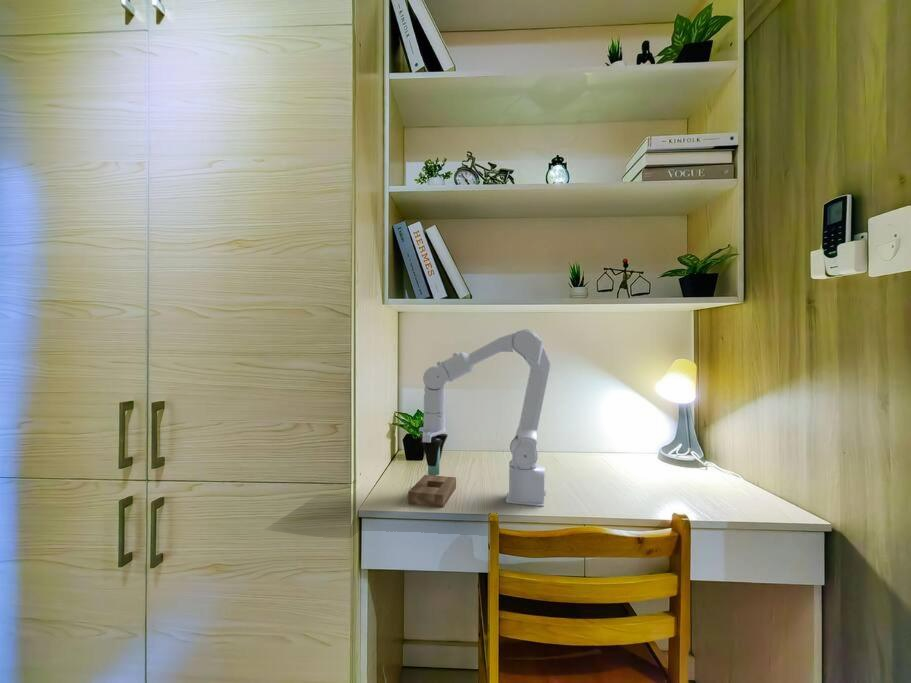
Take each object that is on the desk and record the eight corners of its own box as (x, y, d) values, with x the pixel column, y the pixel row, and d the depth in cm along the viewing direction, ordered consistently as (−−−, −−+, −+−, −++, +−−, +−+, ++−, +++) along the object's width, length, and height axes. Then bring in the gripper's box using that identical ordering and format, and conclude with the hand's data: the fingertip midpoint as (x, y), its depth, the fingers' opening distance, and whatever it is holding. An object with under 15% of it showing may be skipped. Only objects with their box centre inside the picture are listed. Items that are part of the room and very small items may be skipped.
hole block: (455, 488, 117) (456, 477, 117) (443, 507, 103) (443, 495, 103) (424, 485, 119) (425, 474, 119) (408, 503, 105) (408, 491, 105)
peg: (440, 472, 112) (441, 438, 112) (437, 476, 109) (438, 441, 109) (429, 471, 113) (430, 437, 113) (426, 474, 110) (427, 440, 110)
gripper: (427, 407, 119) (427, 455, 119) (411, 415, 105) (410, 470, 105) (452, 408, 118) (451, 457, 118) (438, 417, 103) (437, 472, 103)
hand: (433, 463), depth 111 cm, fingers closed on peg, 3 cm apart
